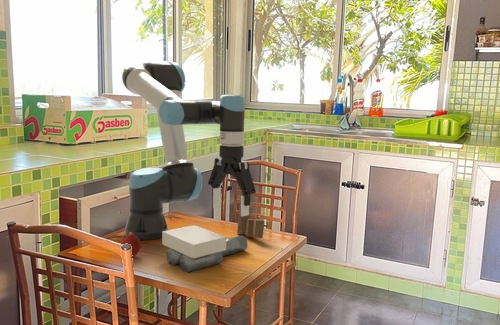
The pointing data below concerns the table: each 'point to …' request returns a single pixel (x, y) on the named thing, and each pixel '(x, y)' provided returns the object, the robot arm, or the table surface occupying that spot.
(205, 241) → the slab
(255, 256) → the table surface
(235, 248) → the roller
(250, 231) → the wooden block set
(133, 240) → the onion
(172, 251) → the cylinder
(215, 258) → the roller front
